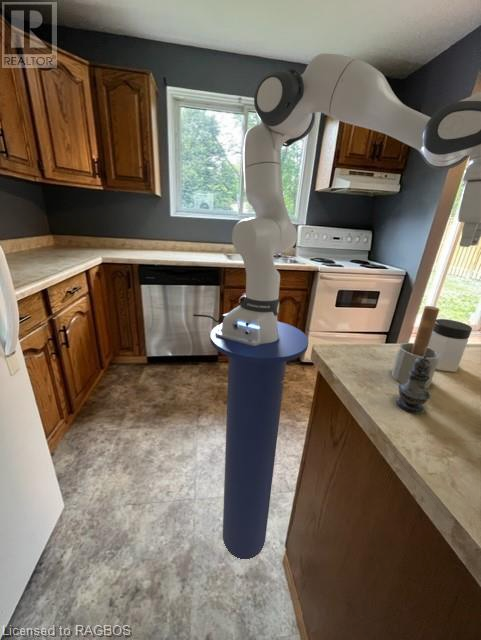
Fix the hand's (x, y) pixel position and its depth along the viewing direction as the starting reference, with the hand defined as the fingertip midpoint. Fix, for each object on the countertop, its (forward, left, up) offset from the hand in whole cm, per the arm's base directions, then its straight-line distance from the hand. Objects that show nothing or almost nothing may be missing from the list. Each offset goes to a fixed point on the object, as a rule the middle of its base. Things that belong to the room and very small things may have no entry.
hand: (468, 246), depth 59 cm
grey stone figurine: (-8, -17, -32) cm, 37 cm away
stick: (-5, -5, -32) cm, 32 cm away
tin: (-5, -5, -32) cm, 33 cm away
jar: (+5, +7, -32) cm, 33 cm away
